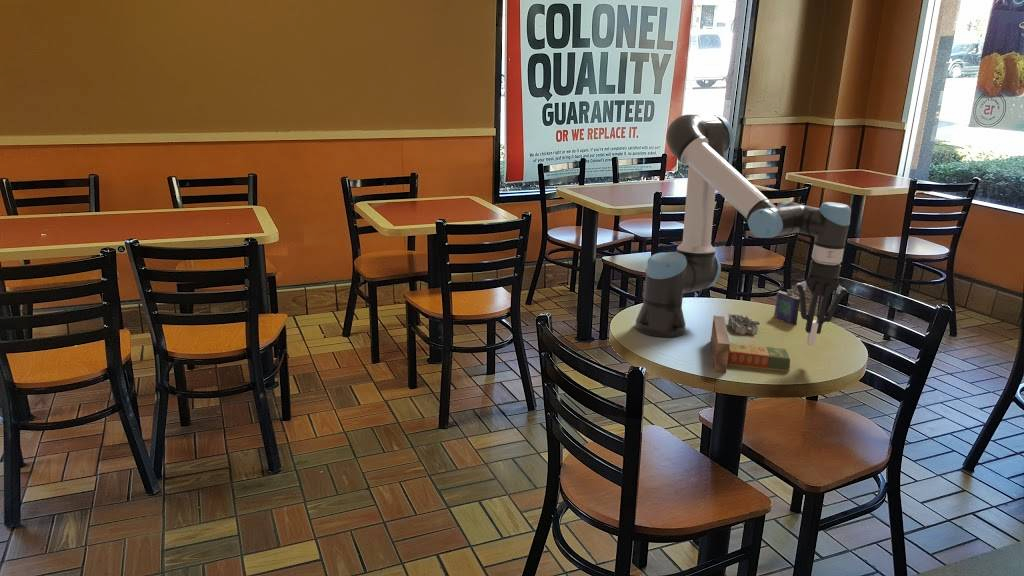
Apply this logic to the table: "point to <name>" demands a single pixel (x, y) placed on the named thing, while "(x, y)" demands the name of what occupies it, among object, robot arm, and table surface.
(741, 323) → the egg carton
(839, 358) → the table surface
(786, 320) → the flask
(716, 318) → the board
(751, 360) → the carton
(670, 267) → the robot arm
